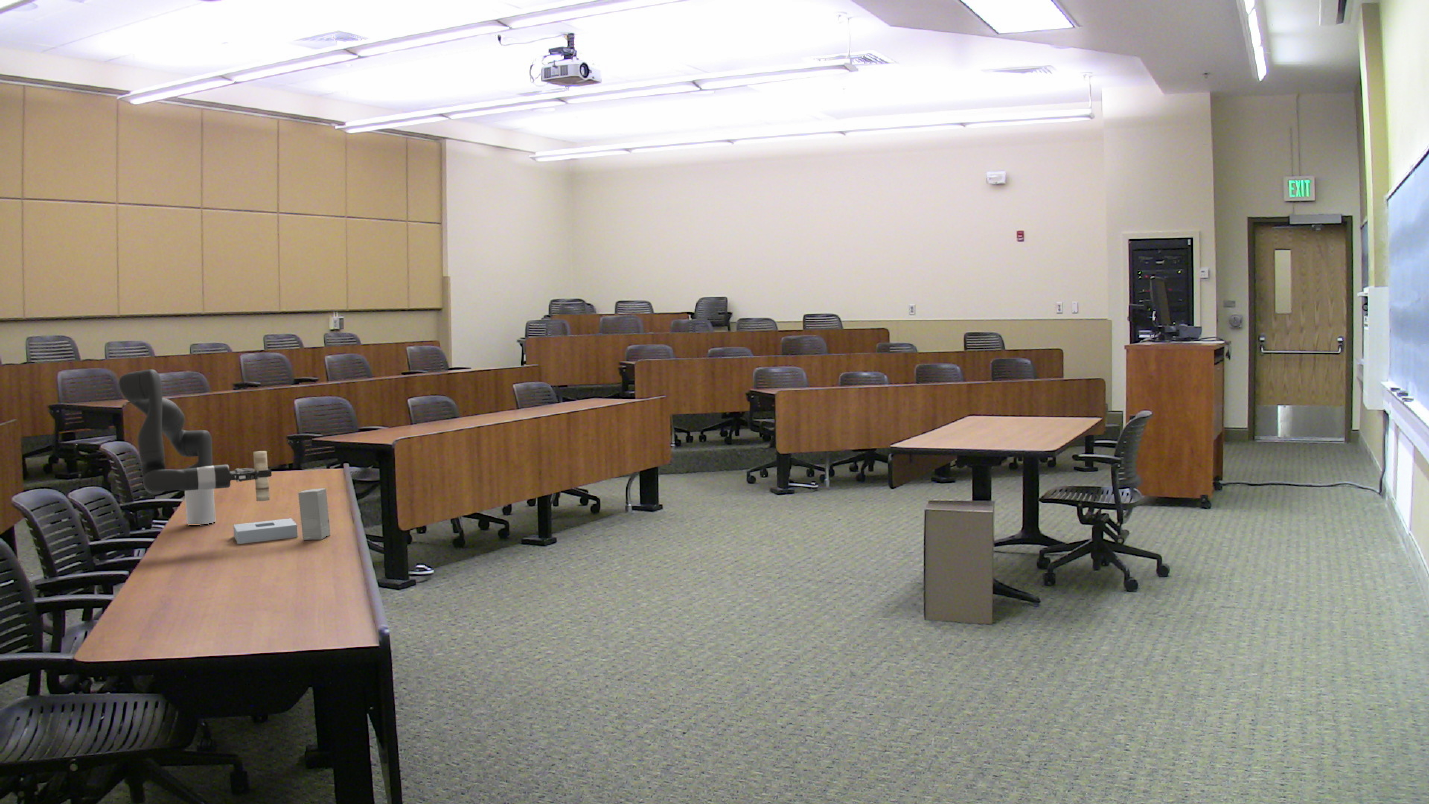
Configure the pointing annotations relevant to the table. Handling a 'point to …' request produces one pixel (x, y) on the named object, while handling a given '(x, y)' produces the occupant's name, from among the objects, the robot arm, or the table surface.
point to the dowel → (262, 482)
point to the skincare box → (314, 514)
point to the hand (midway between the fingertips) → (270, 472)
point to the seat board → (265, 531)
